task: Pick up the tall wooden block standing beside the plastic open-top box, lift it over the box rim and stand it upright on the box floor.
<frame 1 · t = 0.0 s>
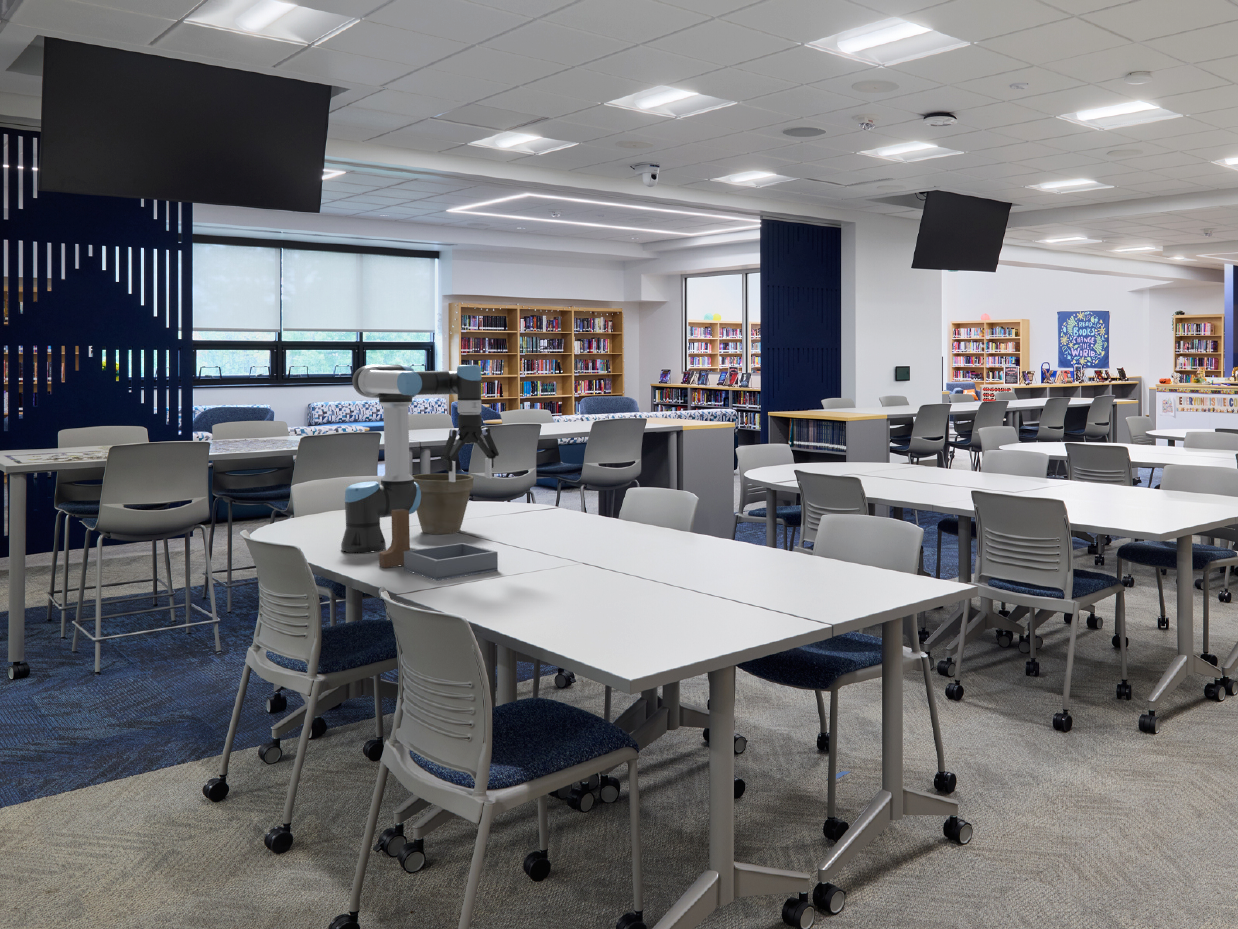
hand: (470, 480, 306), 28 cm above the table, tool pointing down, fingers open, 13 cm apart
wooden block: (394, 566, 309), on the table
plant pot: (442, 531, 373), on the table
open-top box: (450, 570, 302), on the table
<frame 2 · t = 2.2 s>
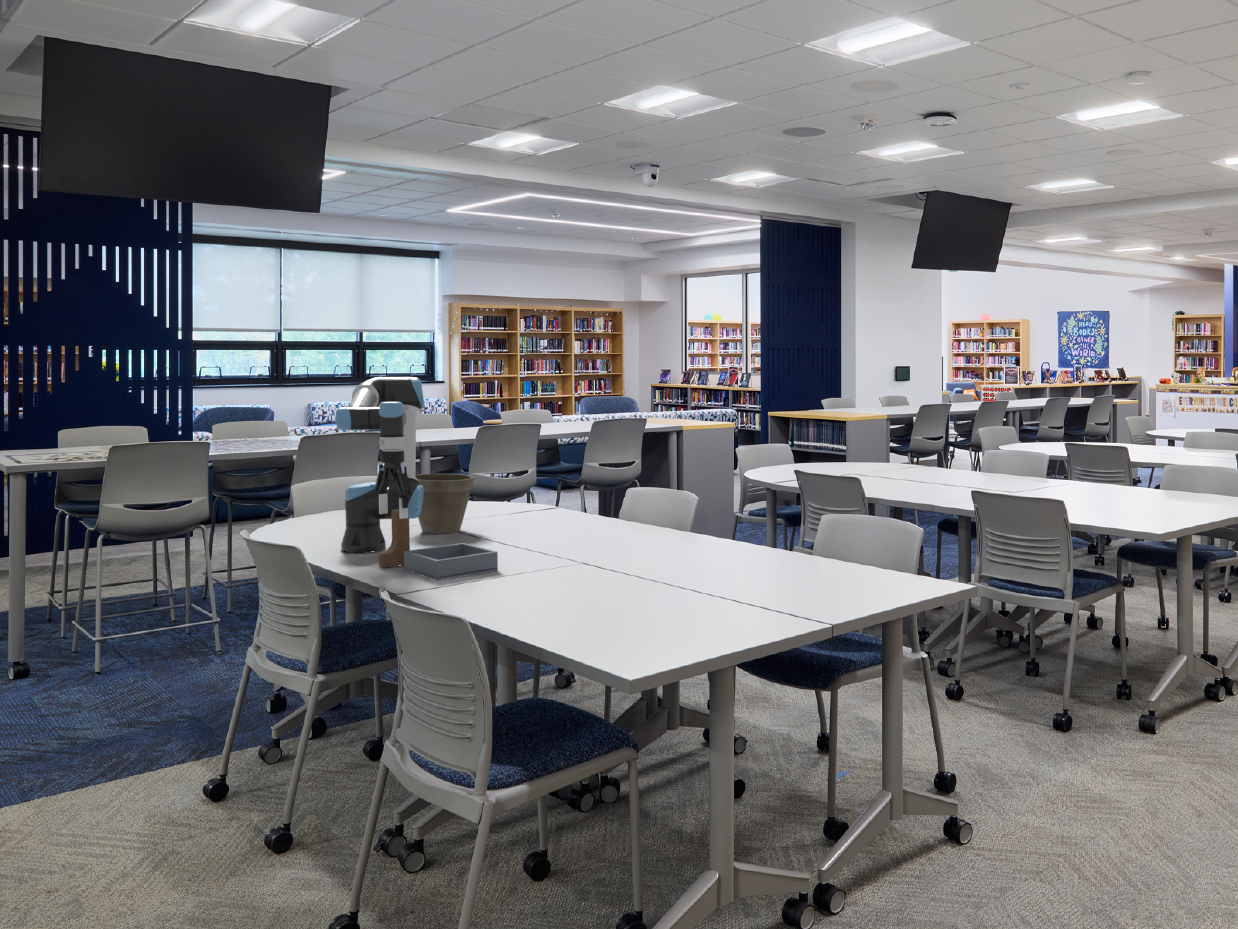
hand: (393, 516, 307), 16 cm above the table, tool pointing down, fingers open, 13 cm apart
nothing on the table moved.
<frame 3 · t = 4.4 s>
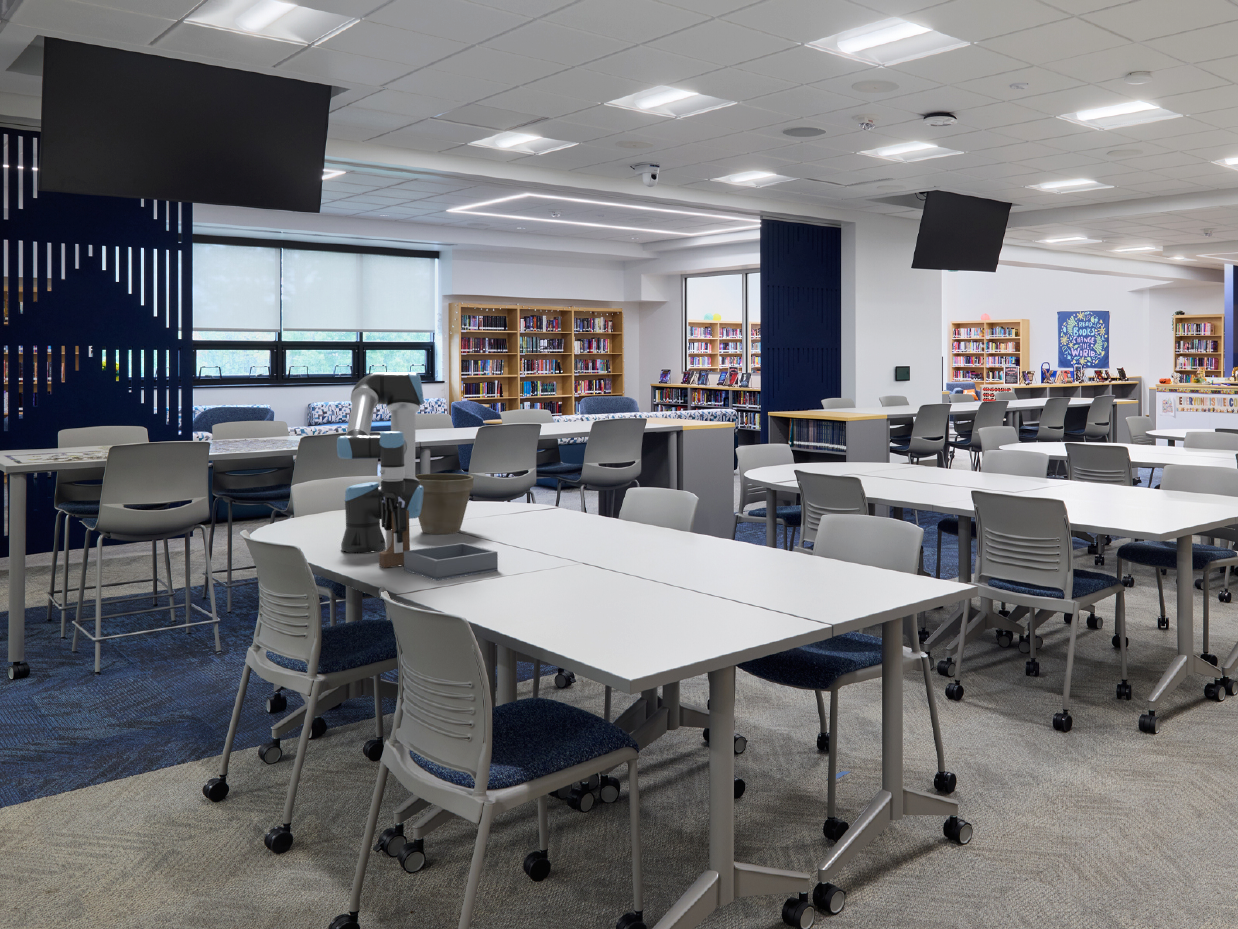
hand: (394, 551, 309), 5 cm above the table, tool pointing down, fingers closed on wooden block, 5 cm apart
wooden block: (394, 566, 309), on the table, touching gripper
everything else where it was.
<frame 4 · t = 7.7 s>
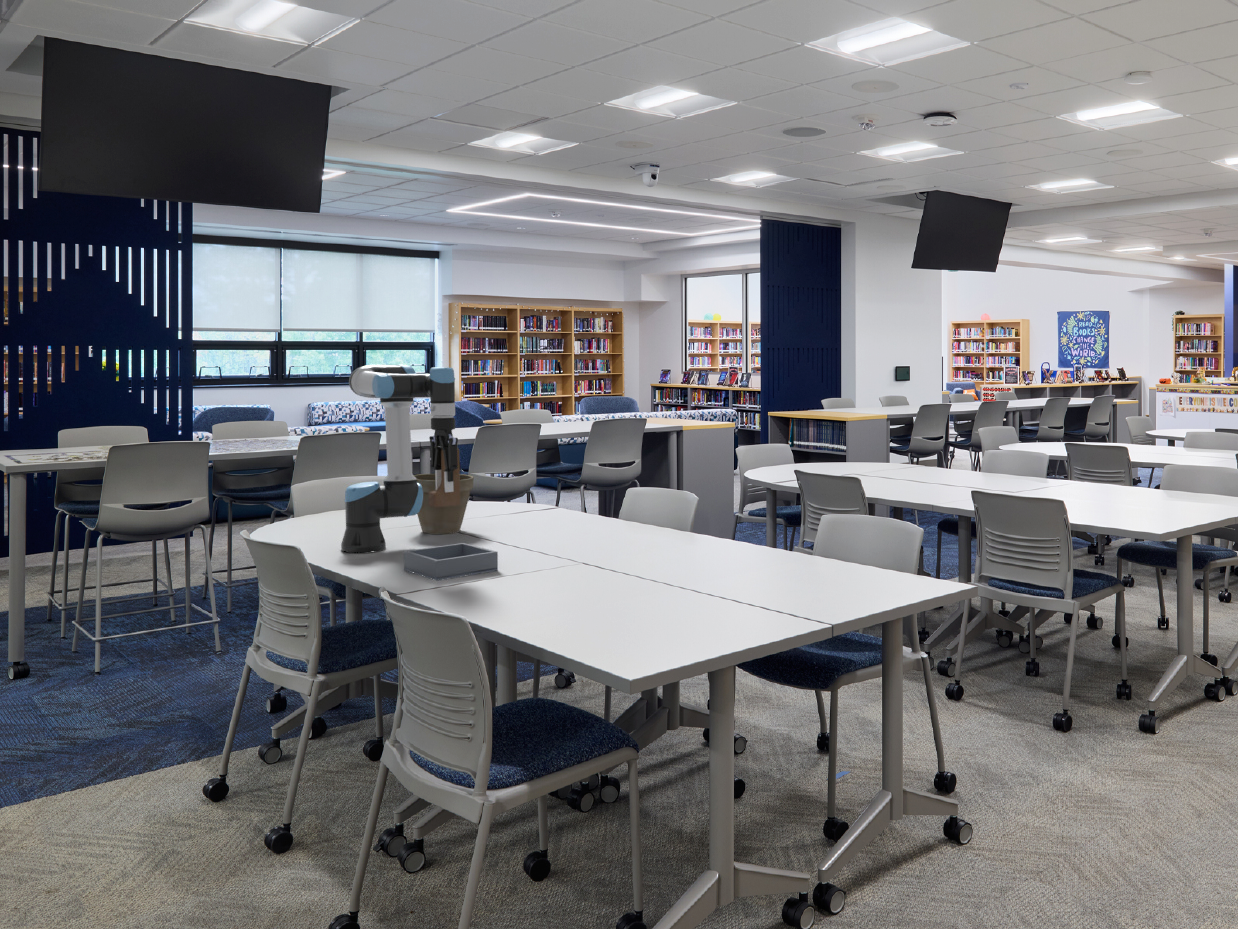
hand: (444, 490, 300), 25 cm above the table, tool pointing down, fingers closed on wooden block, 5 cm apart
wooden block: (444, 506, 301), point 20 cm above the table, touching gripper
everything else where it was.
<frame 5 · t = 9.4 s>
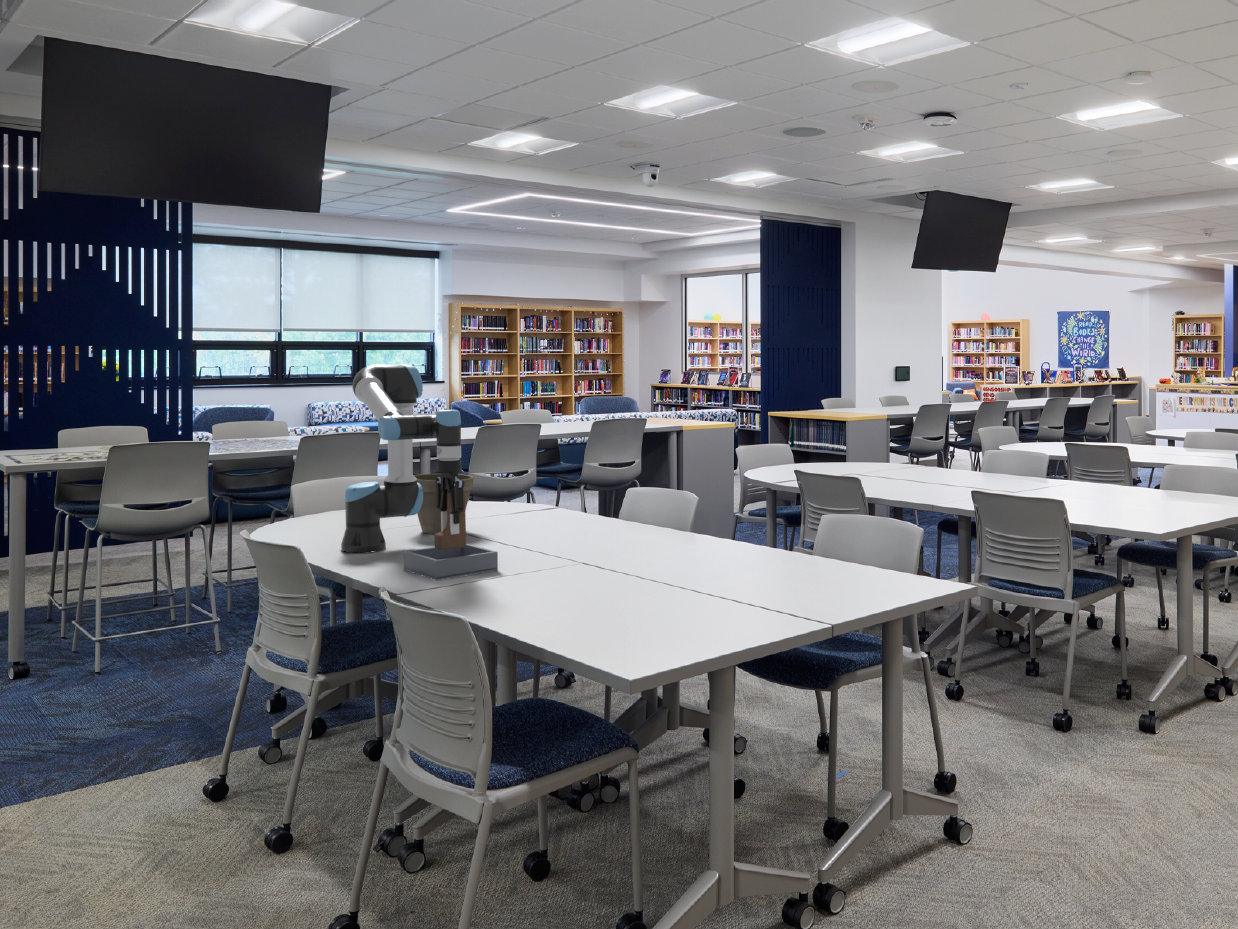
hand: (450, 532, 301), 12 cm above the table, tool pointing down, fingers closed on wooden block, 5 cm apart
wooden block: (450, 548, 302), point 7 cm above the table, touching gripper
everything else where it was.
when the fingers open (7 cm above the table, at t = 11.0 s): wooden block drops 1 cm, resting on open-top box.
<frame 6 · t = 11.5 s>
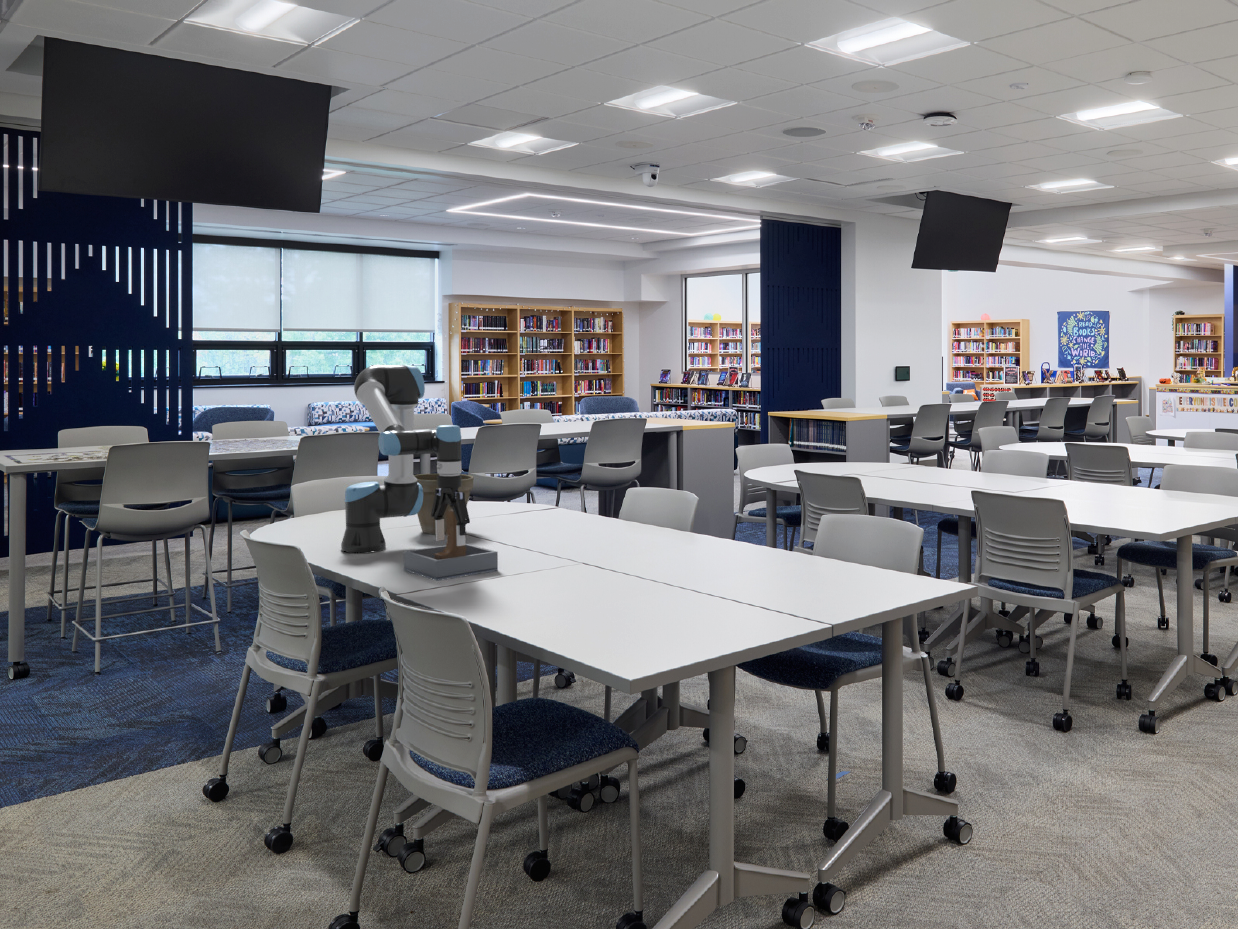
hand: (450, 542, 302), 9 cm above the table, tool pointing down, fingers open, 12 cm apart
wooden block: (450, 567, 302), point 1 cm above the table, touching open-top box
everything else where it was.
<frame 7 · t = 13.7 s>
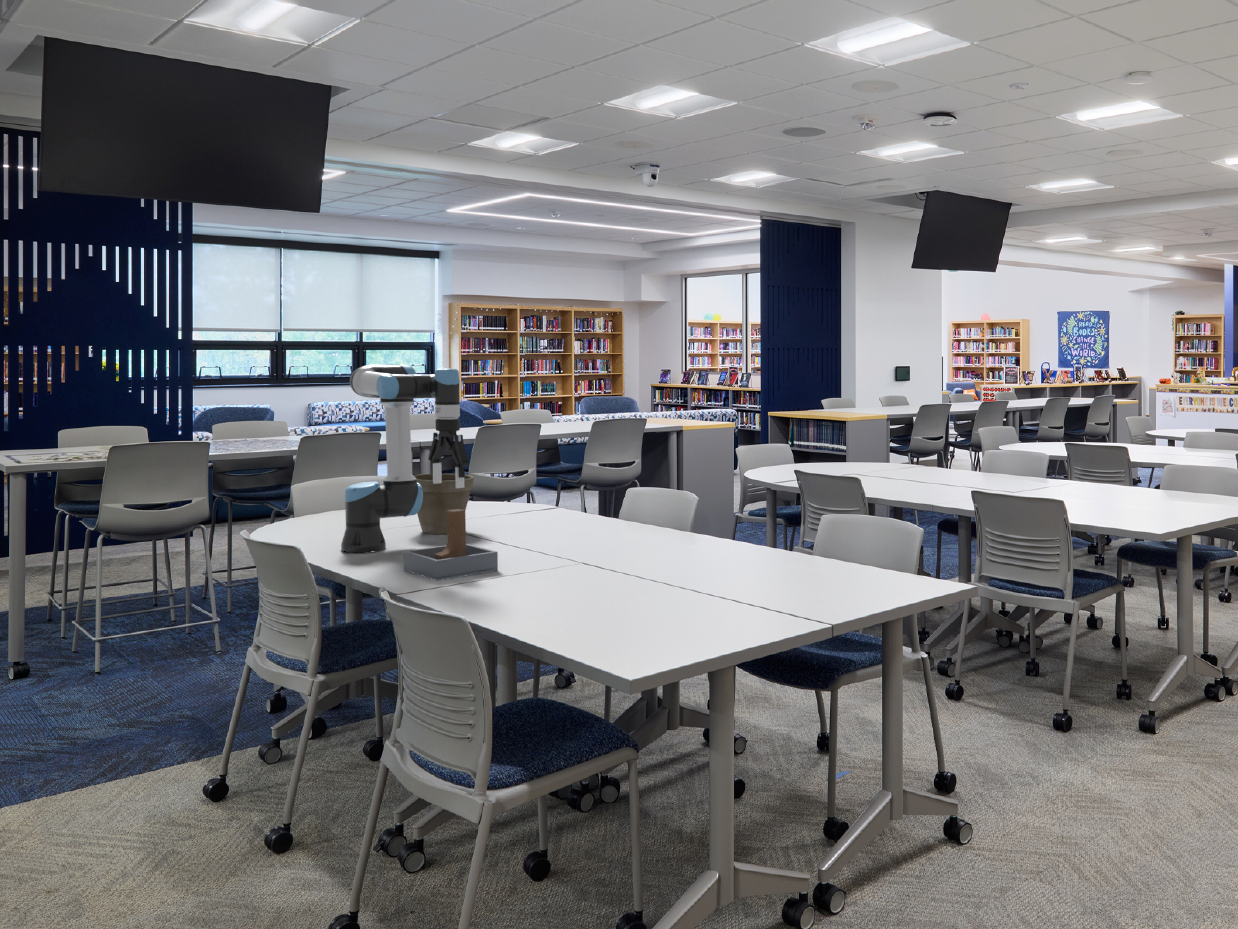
hand: (448, 485, 301), 27 cm above the table, tool pointing down, fingers open, 13 cm apart
nothing on the table moved.
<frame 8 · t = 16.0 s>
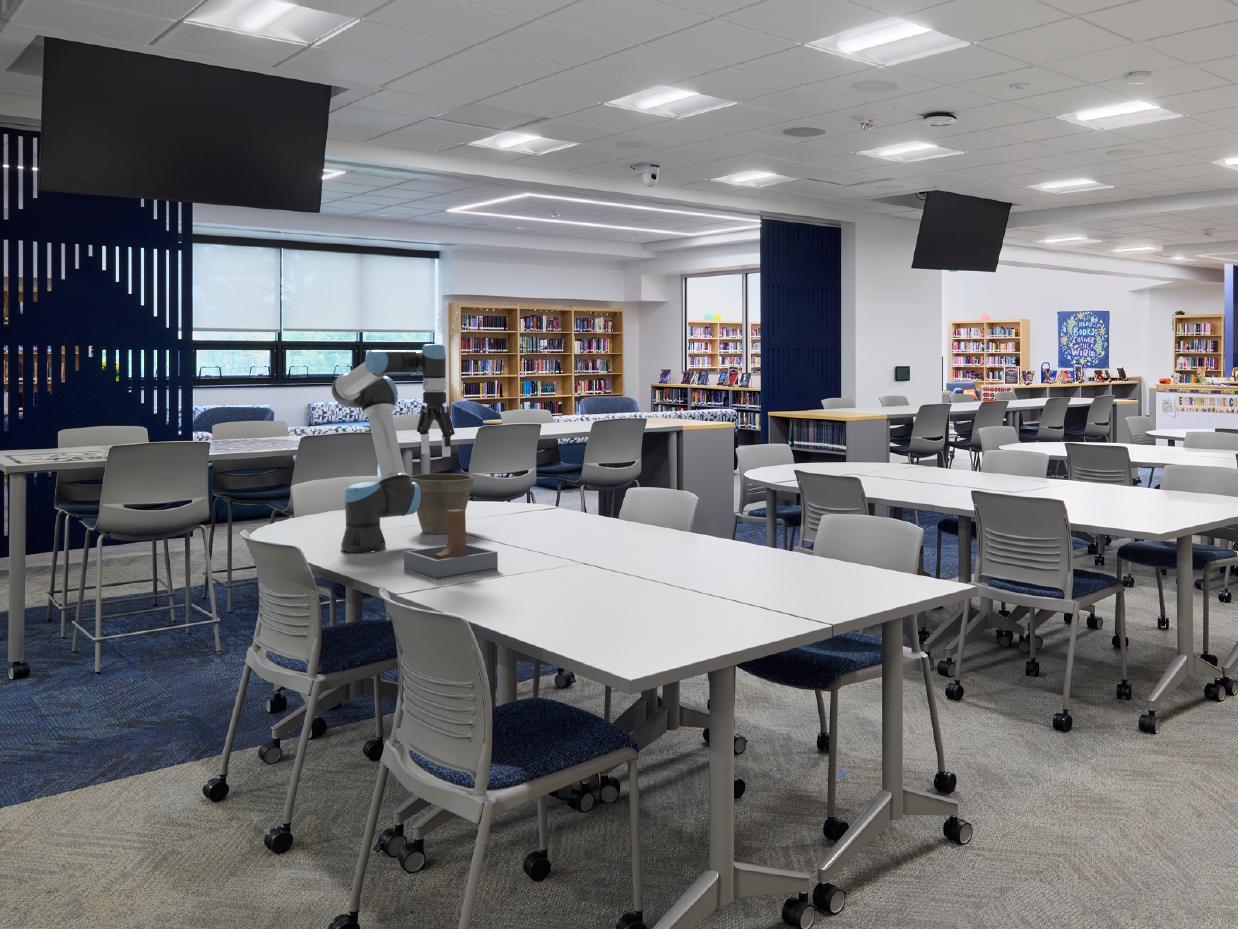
hand: (435, 455, 318), 35 cm above the table, tool pointing down, fingers open, 13 cm apart
nothing on the table moved.
at the end: wooden block inside the target area on the open-top box (0.1 cm from its centre), point 0.8 cm above the open-top box's base; wooden block tilted 0°; the gripper is holding nothing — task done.
